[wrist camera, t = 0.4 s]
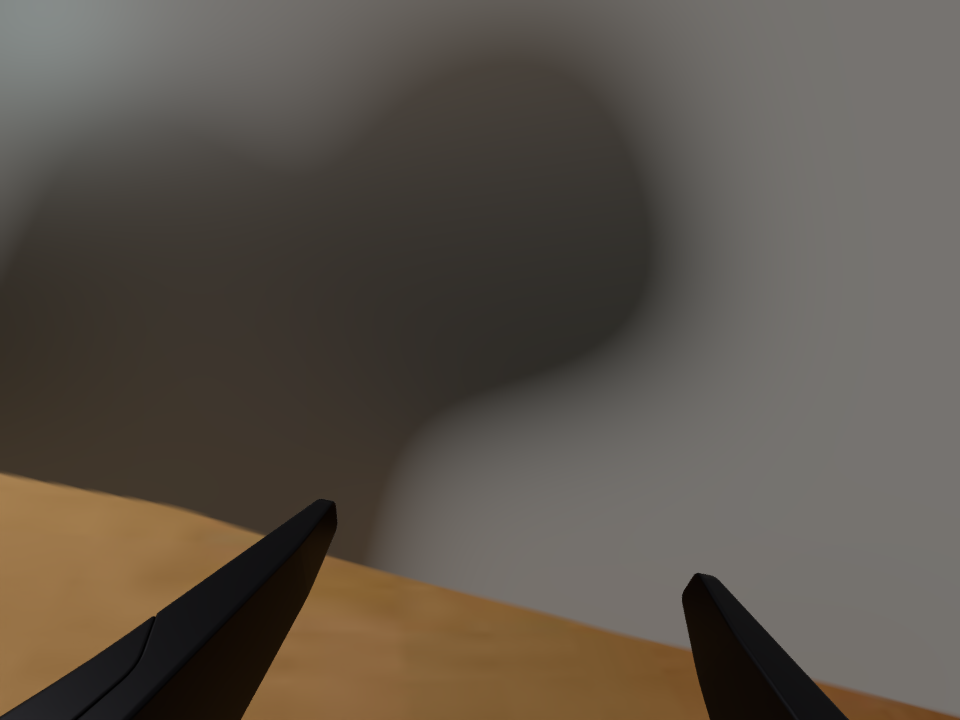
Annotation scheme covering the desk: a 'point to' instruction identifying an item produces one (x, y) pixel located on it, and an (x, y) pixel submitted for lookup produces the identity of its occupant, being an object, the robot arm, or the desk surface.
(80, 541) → the desk surface
